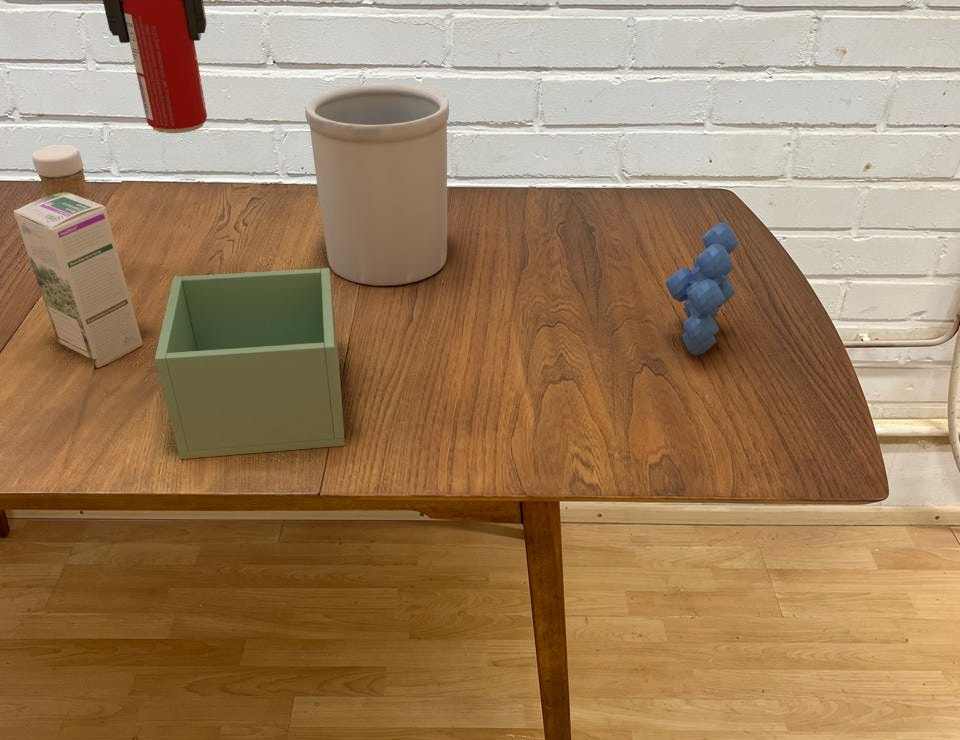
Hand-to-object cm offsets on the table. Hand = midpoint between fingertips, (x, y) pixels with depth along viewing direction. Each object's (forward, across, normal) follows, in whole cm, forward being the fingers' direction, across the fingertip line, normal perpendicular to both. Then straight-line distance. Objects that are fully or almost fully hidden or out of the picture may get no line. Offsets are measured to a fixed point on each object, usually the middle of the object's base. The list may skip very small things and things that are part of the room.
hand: (160, 38), depth 79 cm
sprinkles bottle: (+26, +14, -8) cm, 30 cm away
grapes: (+26, -48, +16) cm, 57 cm away
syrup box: (+26, +10, +9) cm, 29 cm away
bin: (+25, -6, +22) cm, 34 cm away
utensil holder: (+26, -19, -6) cm, 33 cm away
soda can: (+8, 0, 0) cm, 8 cm away
